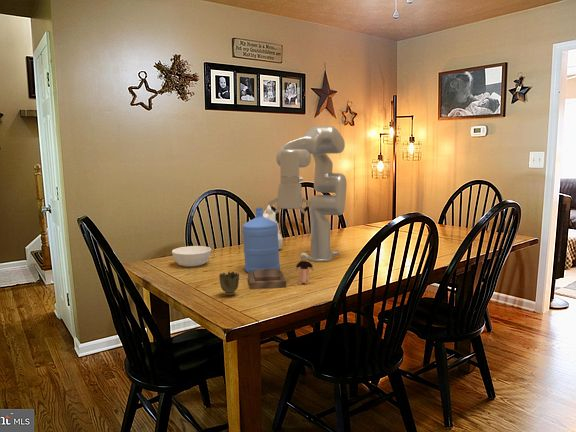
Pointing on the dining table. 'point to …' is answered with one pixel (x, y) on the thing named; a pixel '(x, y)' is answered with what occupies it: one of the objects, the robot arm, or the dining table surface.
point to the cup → (229, 283)
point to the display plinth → (267, 283)
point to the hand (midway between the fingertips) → (290, 222)
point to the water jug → (261, 243)
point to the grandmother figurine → (304, 269)
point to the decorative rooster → (271, 216)
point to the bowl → (191, 255)
